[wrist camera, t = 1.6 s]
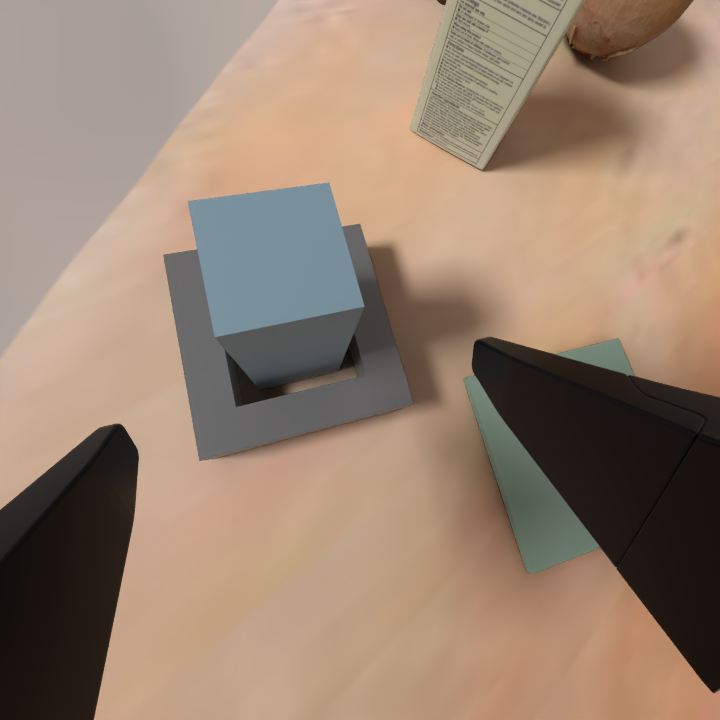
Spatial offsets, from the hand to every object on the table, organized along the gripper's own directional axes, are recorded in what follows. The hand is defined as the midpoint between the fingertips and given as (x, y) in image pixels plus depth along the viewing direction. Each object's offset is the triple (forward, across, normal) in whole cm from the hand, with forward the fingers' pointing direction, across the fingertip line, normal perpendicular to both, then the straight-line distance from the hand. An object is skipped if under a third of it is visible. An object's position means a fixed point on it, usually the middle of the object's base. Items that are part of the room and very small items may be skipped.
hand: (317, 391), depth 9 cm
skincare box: (+21, -15, -4) cm, 26 cm away
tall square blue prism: (+11, 0, +5) cm, 12 cm away
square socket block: (+11, 0, +5) cm, 12 cm away
